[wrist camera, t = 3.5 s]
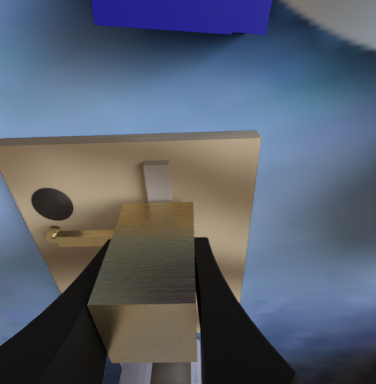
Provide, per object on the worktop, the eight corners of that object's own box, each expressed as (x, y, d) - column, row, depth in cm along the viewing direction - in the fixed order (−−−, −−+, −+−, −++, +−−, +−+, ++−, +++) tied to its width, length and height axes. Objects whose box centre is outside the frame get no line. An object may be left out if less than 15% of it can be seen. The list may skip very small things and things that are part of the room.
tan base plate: (234, 320, 22) (247, 407, 17) (85, 322, 22) (55, 408, 17) (256, 130, 13) (300, 199, 8) (0, 138, 13) (-117, 210, 8)
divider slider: (194, 250, 15) (197, 361, 10) (60, 253, 16) (-3, 364, 11) (193, 196, 13) (195, 303, 8) (36, 200, 13) (-57, 307, 8)
